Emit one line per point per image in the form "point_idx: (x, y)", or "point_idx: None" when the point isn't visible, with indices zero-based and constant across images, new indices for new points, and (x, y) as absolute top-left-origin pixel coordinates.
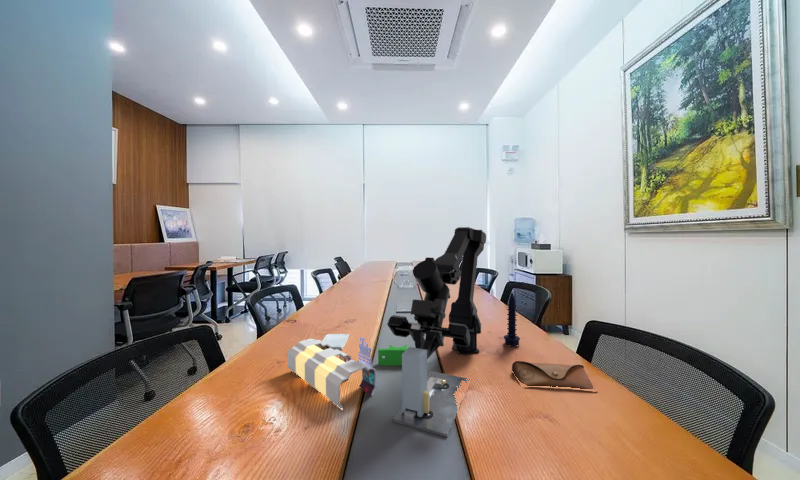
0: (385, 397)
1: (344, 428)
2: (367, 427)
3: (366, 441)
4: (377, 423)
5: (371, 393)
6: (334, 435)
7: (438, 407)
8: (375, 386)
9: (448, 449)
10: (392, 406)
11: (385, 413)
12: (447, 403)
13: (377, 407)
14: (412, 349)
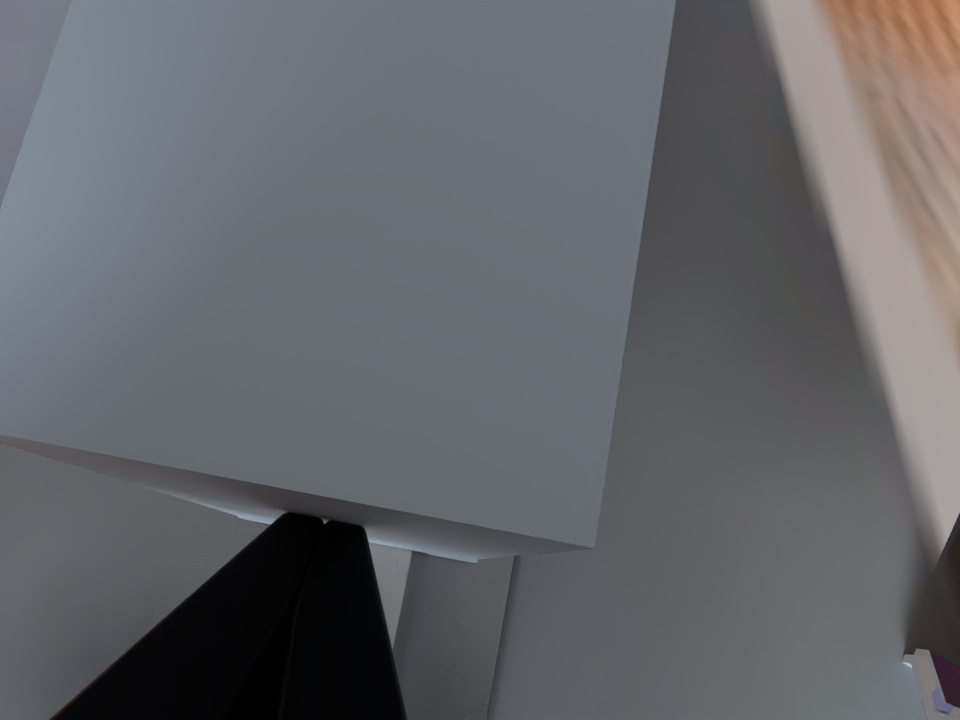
0: (759, 655)
1: (906, 128)
2: (739, 173)
3: (682, 32)
4: (680, 235)
5: (930, 655)
6: (934, 47)
7: (137, 555)
8: (941, 715)
9: (48, 62)
10: (633, 508)
11: (662, 383)
12: (32, 660)
13: (769, 457)
14: (446, 350)
